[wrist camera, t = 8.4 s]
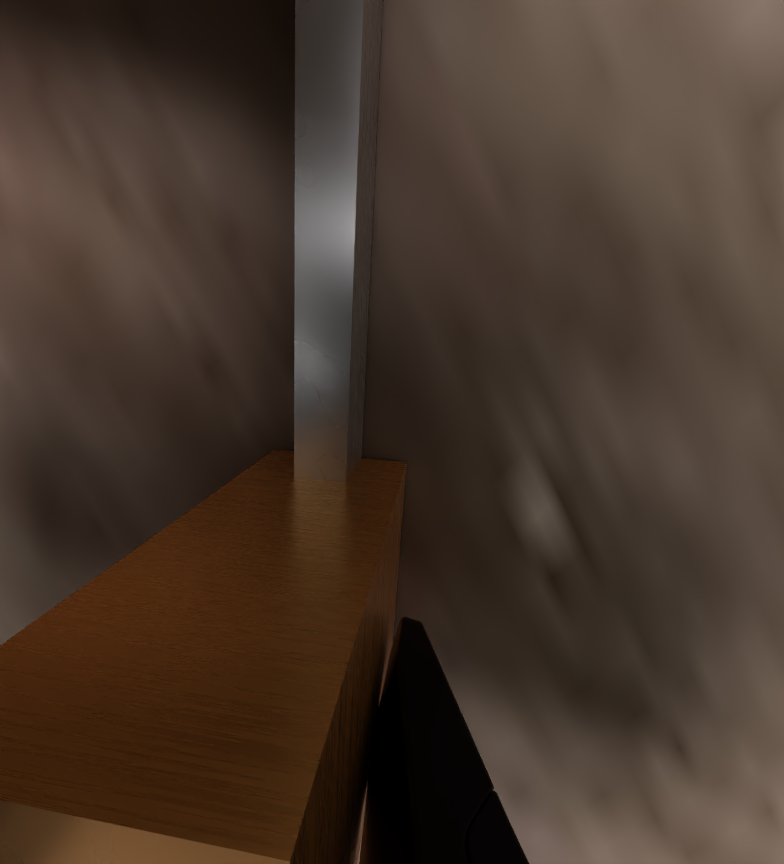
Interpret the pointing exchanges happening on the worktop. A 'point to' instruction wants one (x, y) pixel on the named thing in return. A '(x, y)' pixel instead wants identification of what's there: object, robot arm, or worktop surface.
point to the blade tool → (238, 583)
